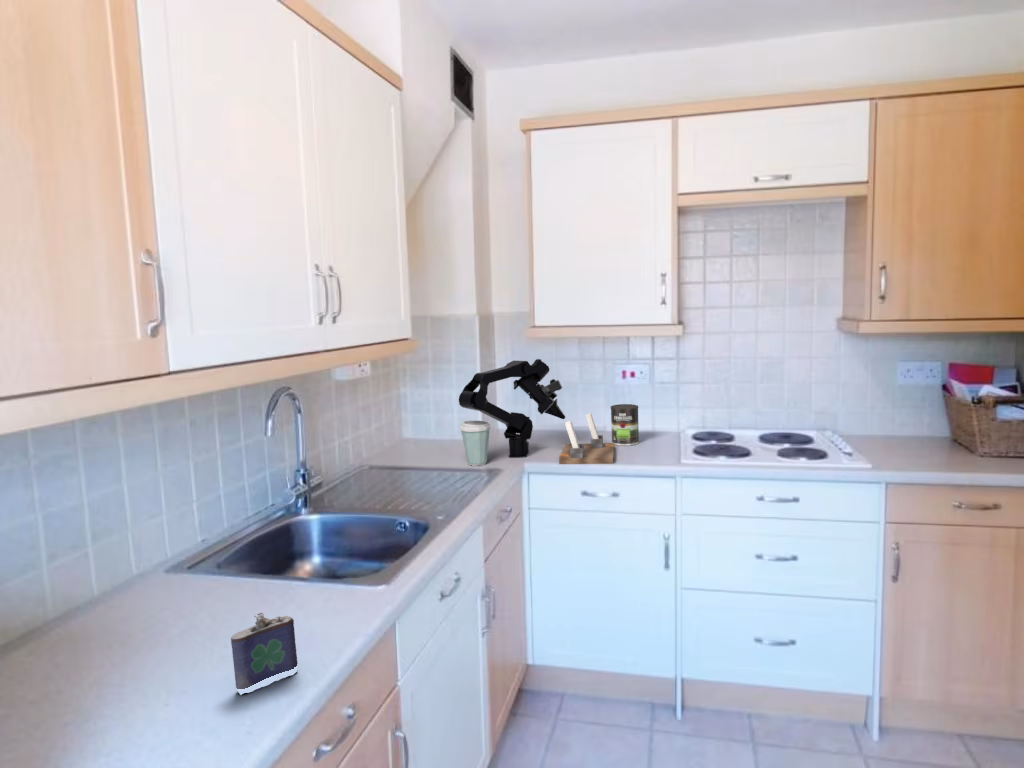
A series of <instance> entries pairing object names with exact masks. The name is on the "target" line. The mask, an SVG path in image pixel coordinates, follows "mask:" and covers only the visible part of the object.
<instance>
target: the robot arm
mask: <svg viewBox="0 0 1024 768" xmlns="http://www.w3.org/2000/svg"><path fill="white" fill-rule="evenodd" d="M549 372H550V367H549V365H547V364H546V363H545V362H544V361H542V359H541V358H540V359H539V358H536V359H534V362H533V363H532V364H530V363H529V361H528V360H512V361H510V362H507V364H506V365H504V366H502V367H498V368H494V369H491V370H487V371H482V372H476V373H475V374H474V375H473V377H472V379H471V380H470V381H469V382H468V383H467V384H466V385H465V386H464V388H463V389H462V391H461V393H460V394H459V397H458V404H459V406H460V407H462V408H463V409H464V408H465V409H469V410H473V411H477V412H480V413H482V414H484V415H486V416H488V417H490V418H492V419H494V420H496V421H498V422H500V423H501V424H504V425H505V426H506V429H505V431H504V432H503V435H504V438H505V439H508V449H509V451H508V452H509V455H508V458H526V457H528V455H529V454H530V442H529V441H528V440H530V439H531V438H532V434H533V429H534V426H533V421H532V420H531V419H530V418H531V417H530V416H526V415H525V414H524V413H522V412H521V413H520V412H515V411H514V412H513V411H510V412H509V411H506V410H504V409H503V408H501V407H499V406H497V405H496V404H493V403H492V402H489V400H488V399H487V396H488V386H489V384H491V383H495V382H498V381H501V380H502V381H503V380H506V379H510V378H519V379H515V380H514V381H513V390H517V389H518V387H519V388H520V389H522V391H523V392H525V394H526V395H527V396H529V399H530V400H533V401H534V402H535V403H536V404H537V412H539V414H540V415H543V414H544V413H545V414H548V415H550V416H553V417H556V418H559V419H561V420H564V419H566V415H565V413H564V412H563V411H562V409H561V408H560V406H559V405H558V398H557V397H558V394H557V393H556V392H557V391H560V390H562V388H563V386H562V384H561V382H560V380H559V379H555V378H553V379H551V380H549V384H547V385H544V384H540V382H541V381H542V380H544V378H545V377H546V376H547V375H548V374H549ZM478 387H479V389H478ZM477 389H478V391H476V390H477Z"/></svg>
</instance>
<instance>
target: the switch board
mask: <svg viewBox="0 0 1024 768" xmlns="http://www.w3.org/2000/svg"><path fill="white" fill-rule="evenodd" d="M598 436H599V438H600V439H593V438H592V437H591V439H590V443H589V442H588V443H579V446H580V448H573V447H572V444H571V443H565V444H564V446H563V448H562V450H561V453H560V455H559V458H558V463H559V464H558V465H583V464H584V465H600V464H603V465H604V464H605V465H606V464H610V465H611V464H612V465H613V464H614V457H615V445H614V443H612V442H608V443H607V442H604V435H603V434H601V435H600V434H598Z"/></svg>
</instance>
